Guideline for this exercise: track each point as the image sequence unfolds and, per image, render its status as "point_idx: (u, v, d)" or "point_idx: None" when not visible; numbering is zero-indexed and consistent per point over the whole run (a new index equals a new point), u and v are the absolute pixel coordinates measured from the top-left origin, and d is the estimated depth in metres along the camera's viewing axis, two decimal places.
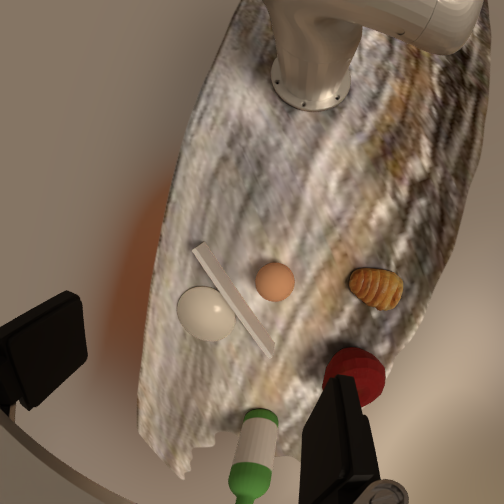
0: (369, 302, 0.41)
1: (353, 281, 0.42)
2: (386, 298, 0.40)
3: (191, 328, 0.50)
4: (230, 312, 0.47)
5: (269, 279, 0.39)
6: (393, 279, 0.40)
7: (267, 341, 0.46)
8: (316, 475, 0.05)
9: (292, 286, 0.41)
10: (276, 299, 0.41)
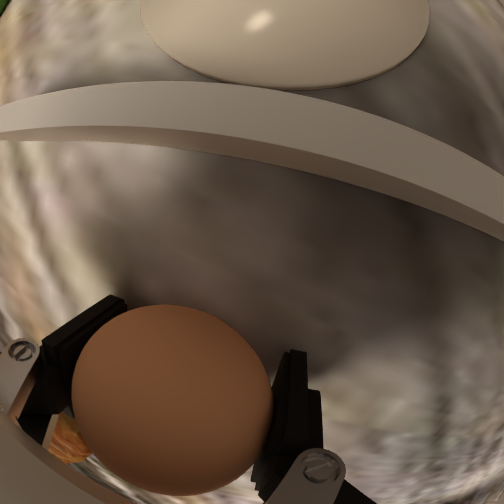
0: None
1: (71, 436, 0.11)
2: None
3: None
4: (204, 54, 0.07)
5: (188, 491, 0.04)
6: None
7: (6, 138, 0.06)
8: None
9: None
10: (75, 409, 0.05)
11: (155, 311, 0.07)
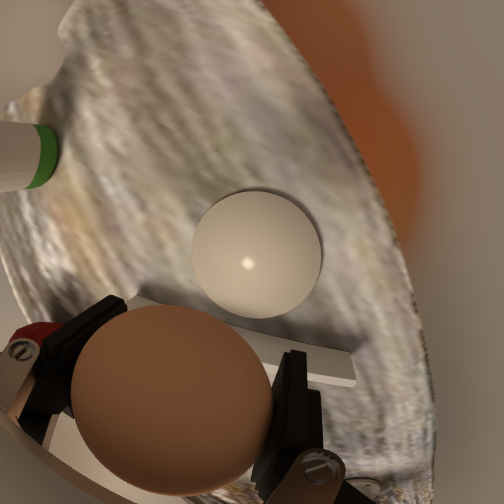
0: None
1: None
2: None
3: (253, 206, 0.22)
4: (224, 303, 0.24)
5: (188, 492, 0.04)
6: None
7: None
8: None
9: None
10: (74, 409, 0.05)
11: (154, 311, 0.07)
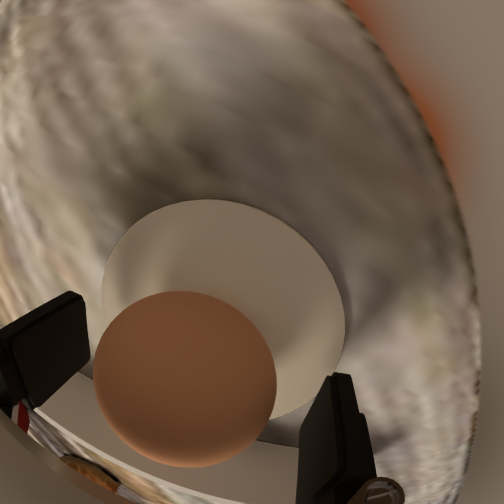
0: None
1: (102, 484, 0.17)
2: None
3: (201, 233, 0.10)
4: None
5: (200, 459, 0.05)
6: None
7: None
8: (312, 473, 0.05)
9: None
10: (97, 385, 0.06)
11: (173, 295, 0.08)
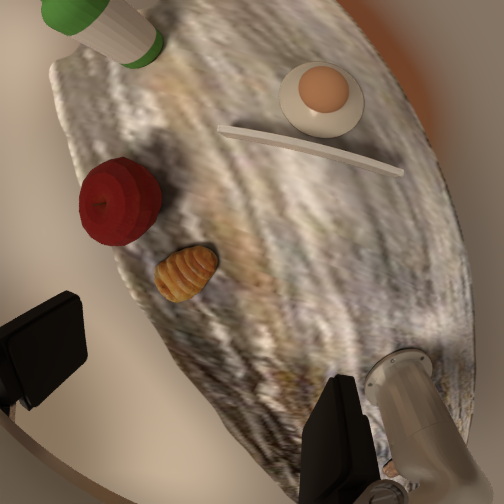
0: (175, 259, 0.36)
1: (207, 256, 0.36)
2: (169, 280, 0.36)
3: None
4: (302, 126, 0.31)
5: (337, 85, 0.24)
6: (185, 296, 0.37)
7: (237, 136, 0.31)
8: (316, 475, 0.05)
9: (307, 99, 0.27)
10: (309, 73, 0.25)
11: None
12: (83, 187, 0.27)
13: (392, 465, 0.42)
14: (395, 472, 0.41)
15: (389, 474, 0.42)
